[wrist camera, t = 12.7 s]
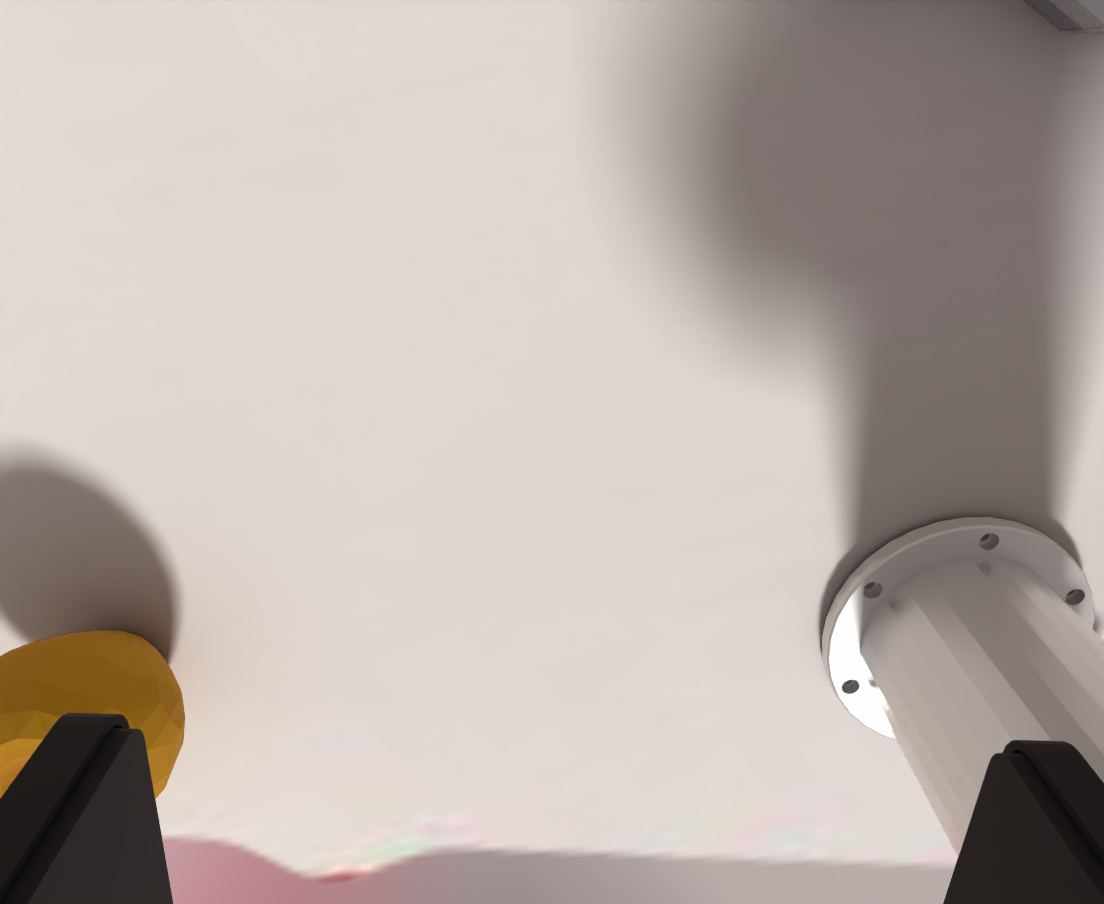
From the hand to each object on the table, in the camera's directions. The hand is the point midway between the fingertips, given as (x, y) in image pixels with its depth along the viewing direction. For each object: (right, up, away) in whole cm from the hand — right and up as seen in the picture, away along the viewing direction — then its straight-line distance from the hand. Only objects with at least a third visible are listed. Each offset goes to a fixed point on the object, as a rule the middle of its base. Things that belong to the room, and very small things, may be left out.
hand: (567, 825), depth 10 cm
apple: (-21, -6, +33) cm, 40 cm away
